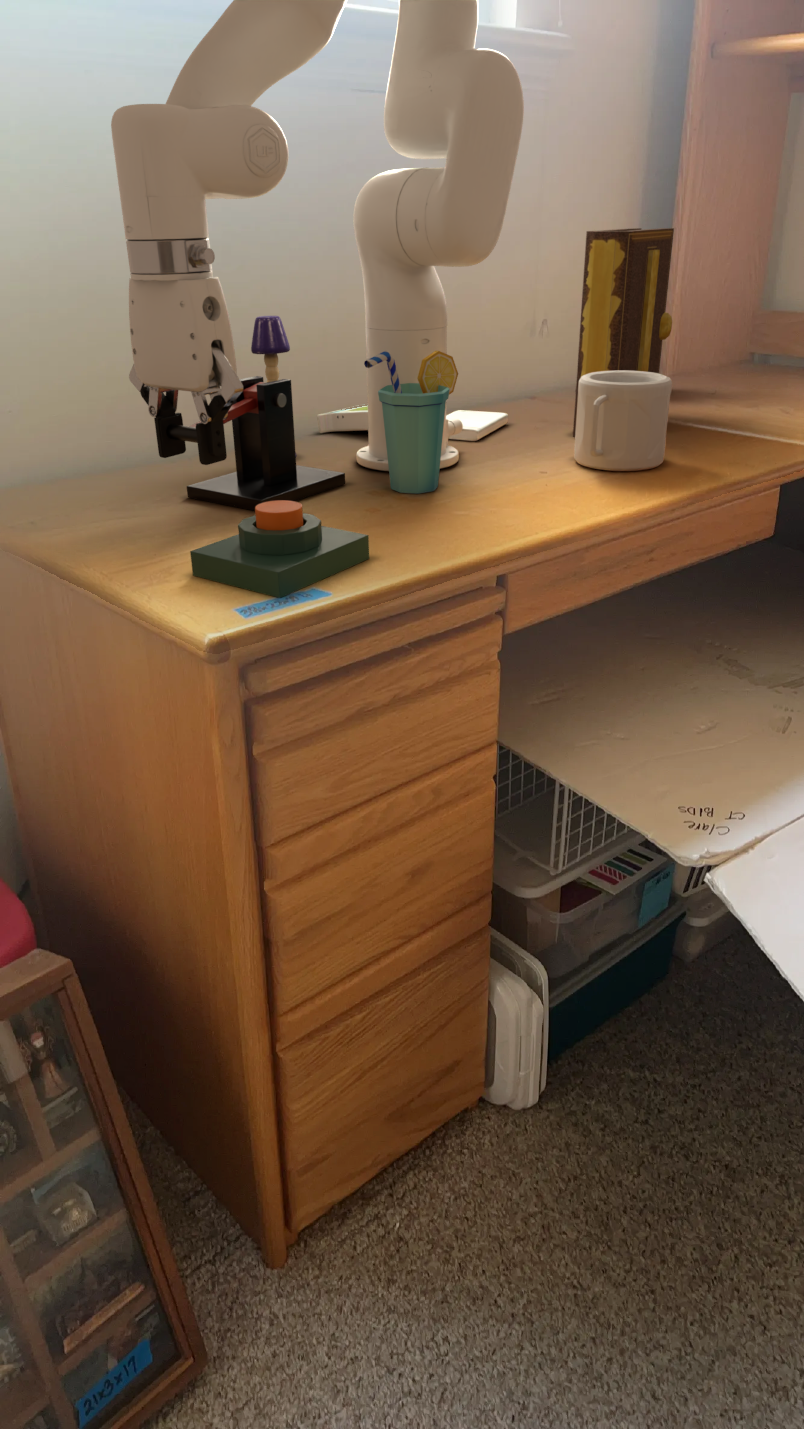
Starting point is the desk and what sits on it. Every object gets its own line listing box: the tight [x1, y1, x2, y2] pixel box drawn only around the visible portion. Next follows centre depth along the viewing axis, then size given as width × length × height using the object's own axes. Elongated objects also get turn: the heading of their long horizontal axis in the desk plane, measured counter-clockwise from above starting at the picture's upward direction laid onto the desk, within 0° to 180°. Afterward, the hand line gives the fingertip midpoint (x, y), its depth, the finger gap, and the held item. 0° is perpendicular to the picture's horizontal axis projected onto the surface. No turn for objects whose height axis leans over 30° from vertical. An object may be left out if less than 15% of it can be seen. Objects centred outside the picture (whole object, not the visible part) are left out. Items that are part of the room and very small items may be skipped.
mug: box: [573, 370, 673, 472], centre depth 116 cm, size 14×11×10 cm
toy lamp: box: [250, 315, 297, 458], centre depth 120 cm, size 5×5×17 cm
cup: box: [363, 351, 459, 495], centre depth 106 cm, size 14×8×15 cm, turn 143°
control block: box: [189, 512, 370, 599], centre depth 85 cm, size 12×10×4 cm
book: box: [572, 227, 675, 437], centre depth 135 cm, size 22×8×25 cm, turn 151°
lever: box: [166, 382, 265, 444], centre depth 102 cm, size 13×5×2 cm, turn 145°
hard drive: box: [446, 409, 509, 442], centre depth 138 cm, size 2×8×12 cm
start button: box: [254, 500, 304, 530], centre depth 84 cm, size 4×4×2 cm
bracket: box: [186, 375, 346, 512], centre depth 107 cm, size 14×11×12 cm
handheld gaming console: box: [316, 405, 368, 434], centre depth 137 cm, size 11×3×15 cm
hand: (192, 456), depth 99 cm, fingers closed on lever, 5 cm apart
